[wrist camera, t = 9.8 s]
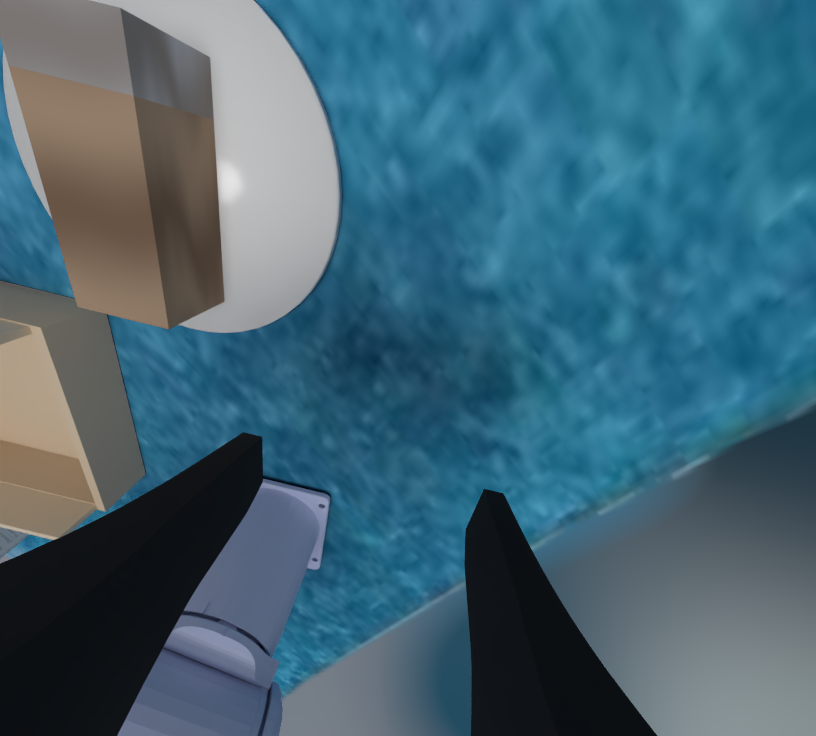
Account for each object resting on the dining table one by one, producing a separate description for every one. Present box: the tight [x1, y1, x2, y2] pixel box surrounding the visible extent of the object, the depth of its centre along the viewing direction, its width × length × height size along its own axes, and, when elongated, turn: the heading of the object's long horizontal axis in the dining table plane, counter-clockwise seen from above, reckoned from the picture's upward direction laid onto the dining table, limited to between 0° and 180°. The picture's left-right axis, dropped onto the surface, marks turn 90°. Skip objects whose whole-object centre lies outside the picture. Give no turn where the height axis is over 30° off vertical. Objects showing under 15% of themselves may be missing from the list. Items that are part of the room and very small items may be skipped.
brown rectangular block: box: [0, 0, 224, 329], centre depth 14 cm, size 10×4×4 cm, turn 168°
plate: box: [3, 0, 342, 333], centre depth 15 cm, size 15×15×1 cm
